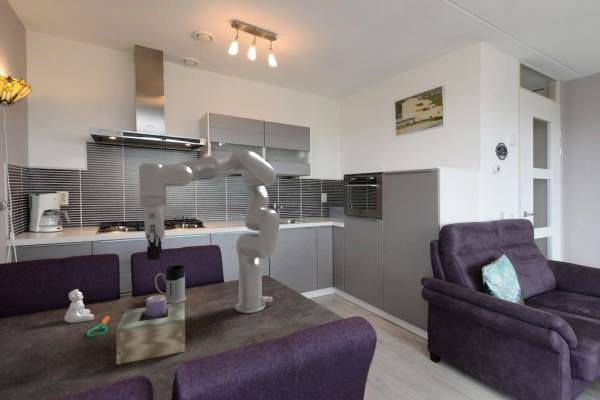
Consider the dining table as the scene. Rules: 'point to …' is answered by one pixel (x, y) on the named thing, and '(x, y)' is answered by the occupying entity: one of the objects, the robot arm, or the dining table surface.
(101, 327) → the magnifying glass
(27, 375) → the dining table surface
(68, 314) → the white creature statuette
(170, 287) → the white pitcher
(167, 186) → the robot arm
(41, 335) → the dining table surface
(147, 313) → the beverage can
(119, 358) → the tissue box
